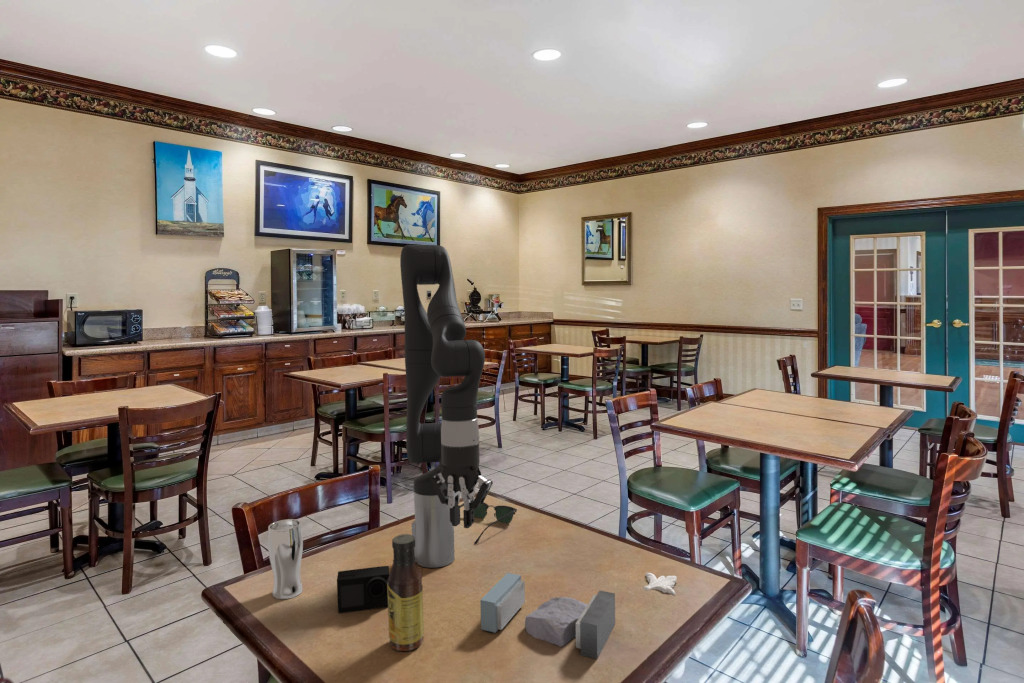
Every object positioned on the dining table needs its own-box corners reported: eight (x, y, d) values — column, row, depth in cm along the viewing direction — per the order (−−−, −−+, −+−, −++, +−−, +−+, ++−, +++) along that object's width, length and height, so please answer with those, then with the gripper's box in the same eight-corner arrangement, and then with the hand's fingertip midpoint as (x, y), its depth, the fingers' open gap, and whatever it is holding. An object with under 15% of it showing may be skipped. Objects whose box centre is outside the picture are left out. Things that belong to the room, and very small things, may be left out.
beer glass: (311, 588, 127) (309, 521, 126) (287, 603, 121) (284, 532, 120) (288, 582, 130) (285, 516, 129) (263, 596, 124) (259, 528, 123)
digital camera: (337, 617, 115) (335, 582, 115) (338, 603, 121) (337, 570, 120) (390, 610, 118) (389, 576, 117) (389, 597, 123) (388, 564, 123)
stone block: (521, 642, 109) (565, 650, 103) (517, 616, 109) (560, 622, 103) (556, 617, 118) (599, 623, 112) (553, 593, 119) (595, 597, 112)
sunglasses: (433, 535, 157) (433, 517, 156) (469, 515, 171) (468, 498, 171) (485, 547, 148) (484, 528, 148) (518, 525, 163) (517, 507, 163)
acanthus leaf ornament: (645, 578, 131) (645, 569, 131) (677, 582, 128) (677, 573, 128) (642, 593, 124) (642, 584, 123) (675, 598, 121) (675, 589, 121)
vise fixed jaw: (575, 653, 102) (574, 620, 101) (594, 619, 113) (594, 589, 112) (597, 659, 100) (596, 625, 100) (615, 623, 111) (614, 593, 111)
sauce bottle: (391, 635, 109) (388, 530, 107) (425, 632, 109) (422, 529, 108) (386, 656, 102) (383, 545, 101) (422, 653, 103) (419, 543, 101)
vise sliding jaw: (481, 629, 109) (480, 599, 109) (508, 599, 120) (507, 572, 120) (500, 633, 108) (499, 604, 107) (525, 603, 119) (525, 576, 118)
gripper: (420, 442, 115) (422, 527, 116) (482, 447, 109) (484, 538, 110) (440, 434, 122) (442, 515, 123) (499, 439, 116) (501, 524, 117)
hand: (462, 525), depth 117 cm, fingers closed
